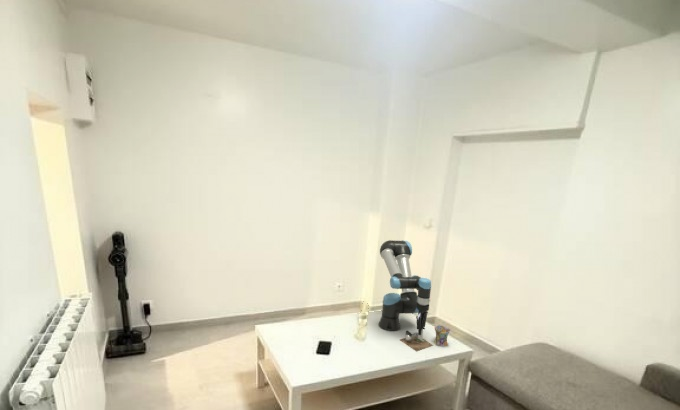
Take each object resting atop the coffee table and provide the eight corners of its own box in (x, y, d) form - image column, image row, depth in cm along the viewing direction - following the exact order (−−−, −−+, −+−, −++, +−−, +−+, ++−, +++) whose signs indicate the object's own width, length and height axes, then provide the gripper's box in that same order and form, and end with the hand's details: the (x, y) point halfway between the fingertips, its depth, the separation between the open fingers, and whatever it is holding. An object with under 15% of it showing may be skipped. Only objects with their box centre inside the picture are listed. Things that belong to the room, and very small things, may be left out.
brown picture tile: (399, 341, 203) (399, 339, 203) (415, 336, 211) (415, 334, 211) (416, 353, 190) (416, 351, 190) (433, 347, 198) (433, 345, 198)
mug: (451, 348, 198) (452, 332, 197) (437, 349, 196) (439, 332, 195) (441, 338, 210) (442, 323, 209) (428, 339, 208) (429, 323, 207)
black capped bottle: (407, 343, 199) (408, 334, 198) (403, 339, 203) (404, 331, 202) (423, 339, 204) (423, 331, 203) (418, 336, 208) (419, 328, 207)
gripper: (424, 308, 193) (421, 345, 195) (432, 302, 203) (429, 337, 205) (413, 304, 197) (410, 340, 199) (421, 298, 207) (418, 333, 210)
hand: (419, 338), depth 202 cm, fingers closed
